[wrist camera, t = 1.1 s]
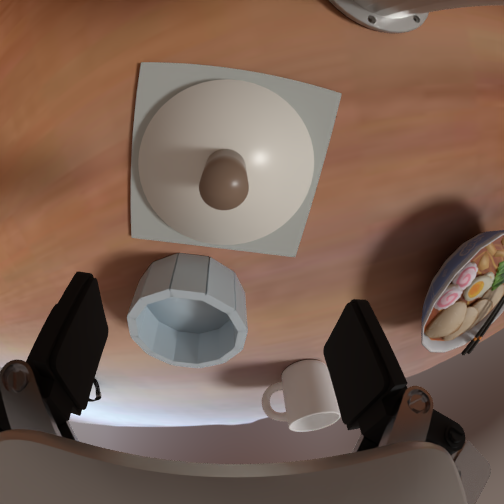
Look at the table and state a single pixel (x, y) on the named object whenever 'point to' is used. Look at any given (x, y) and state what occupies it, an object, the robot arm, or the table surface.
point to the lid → (226, 162)
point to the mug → (305, 397)
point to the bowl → (189, 312)
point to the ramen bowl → (465, 295)
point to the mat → (186, 75)
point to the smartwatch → (98, 394)
